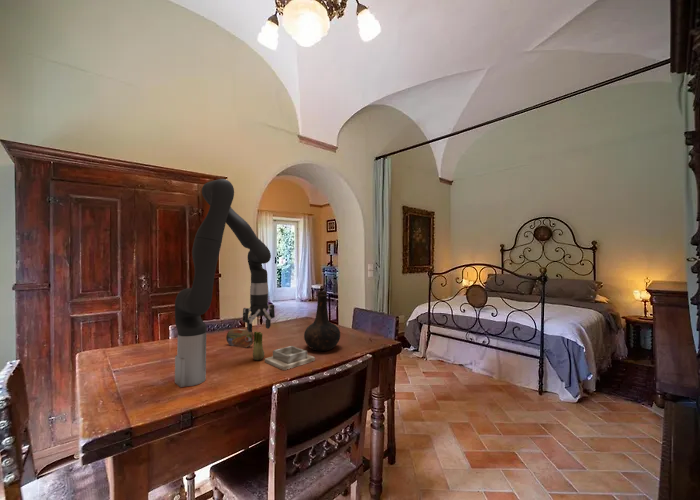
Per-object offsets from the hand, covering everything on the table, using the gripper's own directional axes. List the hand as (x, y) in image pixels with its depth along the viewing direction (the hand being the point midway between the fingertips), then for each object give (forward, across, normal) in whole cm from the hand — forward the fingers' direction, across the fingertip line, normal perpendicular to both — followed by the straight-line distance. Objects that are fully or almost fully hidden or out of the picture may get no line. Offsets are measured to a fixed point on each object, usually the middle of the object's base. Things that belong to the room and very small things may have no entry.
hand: (259, 330), depth 134 cm
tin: (+13, +4, +24) cm, 28 cm away
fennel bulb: (+13, 0, 0) cm, 13 cm away
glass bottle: (+13, +30, -8) cm, 33 cm away
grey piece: (+13, +8, -12) cm, 19 cm away
